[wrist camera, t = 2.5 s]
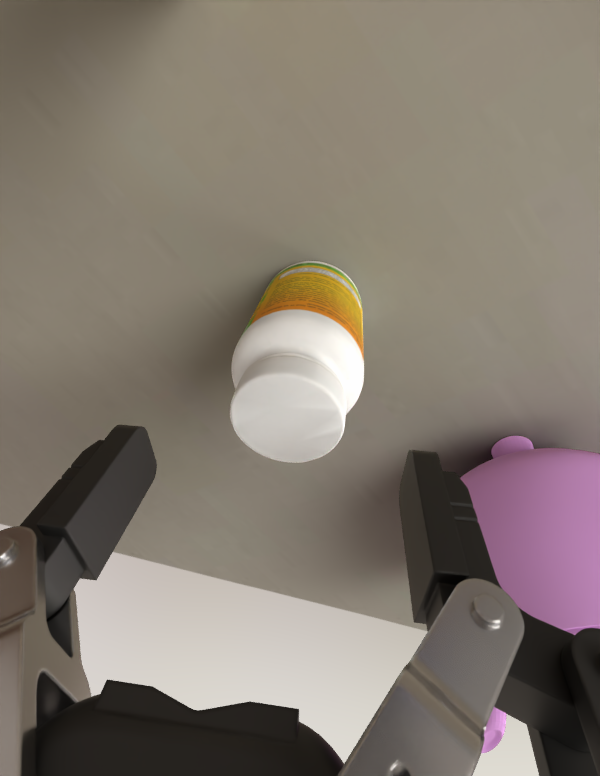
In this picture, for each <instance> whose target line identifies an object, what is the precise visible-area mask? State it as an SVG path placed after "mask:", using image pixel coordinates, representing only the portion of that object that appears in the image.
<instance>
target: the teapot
mask: <svg viewBox="0 0 600 776" xmlns="http://www.w3.org/2000/svg"><path fill="white" fill-rule="evenodd" d="M491 453H492V456H493V458H494V459H491V460H489V461H487V462H485V463H483V464H480V465H479V466H477V467H475V468H473V469H472V470H470V471H469V472H467V473H466V474H465V475H463V476H462V477H461V478H460V479H461V480H462V481H463V483H464V484H465V485H466V486H467V488H468V490H469V493H470V496H471V500H472V503H473V508H474V509H475V512H476V515H477V518H478V523H479V525H480V528H481V531H482V534H483V537H484V540H485V543H486V546H487V550H488V553H489V556H490V559H491V562H492V565H493V568H494V571H495V574H496V577H497V580H498V582H499V584H500V586H501V588H502V589H503V590H504V591H505V592H506V593H507V594H508V595H509V596H510V597H511V598H512V599H513V600H514V602H515V603H516V605H517V606H518V607H519V608H520V609H522V610H523V611H524V612H526V613H528V614H529V615H531V616H533V617H535V618H537V619H539V620H541V621H544V622H546V623H548V624H550V625H553V626H555V627H557V628H560V629H562V630H564V631H567V632H569V633H571V634H573V635H576V634H577V633H578V632H579V631H581V630H583V629H586V628H598V629H600V454H599V453H594V452H588V451H582V450H574V449H564V448H540V449H534V447H533V444H532V442H531V441H530V440H529V439H528V438H525V437H522V436H509V437H506V438H503V439H501V440H499V441H498V442H497V443H496V444H495V445H494V446H493V448H492V451H491ZM505 725H506V713H504V712H503V711H501V710H499V709H497V708H495V707H494V708H493V711H492V713H491V715H490V718H489V720H488V723H487V725H486V728H485V732H484V737H485V740H484V745H483V748H482V752H481V753H486V752H489V751H490V750H492V749H493V748H495V747H496V746H497V745H498V743H499V742H500V741H501V739H502V737H503V735H504V731H505Z"/></svg>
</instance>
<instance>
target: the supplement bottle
mask: <svg viewBox="0 0 600 776" xmlns="http://www.w3.org/2000/svg"><path fill="white" fill-rule="evenodd" d="M231 368H232V379H233V383H234V386H235V389H236V390H235V393H234V395H233V398H232V401H231V405H230V419H231V423H232V426H233V428H234V430H235V432H236V433H237V435H238V436H239V438H240V439H241V440H242V441H243V442H244V443H245V444H246V445H247V446H248V447H249V448H251V449H252V450H254V451H255V452H257V453H259V454H260V455H263V456H265V457H267V458H270V459H273V460H277V461H282V462H290V463H297V462H306V461H311V460H314V459H317V458H320V457H322V456H324V455H325V454H327V453H329V452H330V451H331V450H332V449H333V448H334V447H335V446H336V445H337V444H338V442H339V441H340V439H341V437H342V435H343V432H344V427H345V416H346V414H347V413H348V412H349V411H350V409H351V408H352V407H353V406H354V404H355V403H356V401H357V399H358V397H359V395H360V392H361V389H362V386H363V380H364V353H363V319H362V303H361V299H360V295H359V292H358V290H357V288H356V286H355V285H354V283H353V282H352V280H351V279H350V278H349V277H348V276H347V275H346V274H345V273H344V272H343V271H341V270H340V269H338V268H337V267H335V266H333V265H330V264H327V263H324V262H319V261H303V262H299V263H295V264H293V265H290V266H288V267H286V268H285V269H283V270H282V271H280V272H279V273H278V274H277V275H276V276H275V277H274V278H273V280H272V281H271V282H270V284H269V285H268V287H267V289H266V291H265V293H264V295H263V297H262V298H261V300H260V302H259V304H258V306H257V308H256V310H255V312H254V314H253V316H252V317H251V319H250V321H249V323H248V325H247V327H246V328H245V330H244V332H243V334H242V336H241V337H240V339H239V341H238V344H237V346H236V348H235V351H234V354H233V358H232V366H231Z"/></svg>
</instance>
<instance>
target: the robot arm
mask: <svg viewBox="0 0 600 776" xmlns="http://www.w3.org/2000/svg"><path fill="white" fill-rule="evenodd" d="M156 468H157V464H156V459H155V456H154V452H153V449H152V446H151V443H150V440H149V436H148V433H147V430H146V429H145V428H144V427H140V426H128V425H117V426H116V427H114V429H113V430H112V431H111V432H110V433H109V435H108V436H107V437H106V438H105V440H99V441H97V442H96V443H94V444H93V445H91V446H90V447H88V448H87V449H86V450H84V451H83V452H82V453H81V454H80V455H79V457H78V458H77V459H76V460H75V461H74V462H73V464H72V465H71V468H68V470H67V471H66V472H65V473H64V474H63V475H62V479H59V480H58V481H57V483H56V484H55V485H54V486H53V487H52V488H51V490H50V491H49V492H48V493H47V494H46V496H45V497H44V498H43V499H42V500H41V501H40V503H39V504H38V505H37V506H36V507H35V509H34V510H33V511H32V512H31V513H30V514H29V516H28V517H27V518H26V519H25V520H24V522H23V523H22V524H21V525H20V526H16V527H11V528H7V529H4V530H1V531H0V776H472V775H473V772H474V770H475V767H476V765H477V763H478V760H479V757H480V754H481V752H482V748H483V745H484V740H485V737H484V732H485V728H486V725H487V723H488V720H489V718H490V715H491V713H492V711H493V708H494V707H495V708H497V709H499V710H501V711H503V712H504V713H506V714H508V715H510V716H512V717H514V718H516V719H518V720H519V721H521V722H523V723H525V724H527V727H528V731H529V735H530V739H531V743H532V747H533V752H534V756H535V760H536V764H537V768H538V772H539V776H600V629H598V628H586V629H583V630H581V631H579V632H578V633H577V634H576V635H573V634H571V633H569V632H567V631H564V630H562V629H560V628H557V627H555V626H553V625H550V624H548V623H546V622H544V621H541V620H539V619H537V618H535V617H533V616H531V615H529V614H528V613H526V612H524V611H523V610H522V609H520V608H519V607H518V606H517V605H516V603H515V602H514V600H513V599H512V598H511V597H510V596H509V595H508V594H507V593H506V592H505V591H504V590H503V589H502V588H501V586H500V584H499V582H498V580H497V577H496V574H495V571H494V568H493V565H492V562H491V559H490V556H489V553H488V550H487V546H486V543H485V540H484V537H483V534H482V531H481V528H480V525H479V523H478V518H477V515H476V512H475V509H474V508H473V503H472V500H471V496H470V493H469V490H468V488H467V486H466V485H465V484H464V483H463V481H462V480H461V479H460V478H459V476H458V475H457V474H456V473H455V472H444V471H442V468H441V464H440V460H439V457H438V454H437V453H436V452H427V451H415V450H409V452H408V455H407V459H406V463H405V467H404V472H403V476H402V480H401V484H400V492H399V505H400V513H401V521H402V530H403V538H404V546H405V554H406V562H407V570H408V578H409V586H410V594H411V603H412V611H413V619H414V622H415V623H423V624H427V630H428V633H427V634H426V636H425V638H424V639H423V641H422V643H421V644H420V646H419V647H418V649H417V651H416V652H415V654H414V655H413V657H412V659H411V660H410V662H409V663H408V664H407V665H406V666H405V667H404V669H403V670H402V672H401V673H400V675H399V676H398V678H397V679H396V681H395V683H394V684H393V686H392V688H391V689H390V691H389V692H388V694H387V696H386V697H385V699H384V701H383V702H382V704H381V705H380V707H379V709H378V710H377V712H376V713H375V715H374V717H373V718H372V720H371V722H370V724H369V725H368V726H367V728H366V730H365V732H364V733H363V735H362V736H361V738H360V740H359V741H358V743H357V745H356V746H355V748H354V749H353V751H352V752H351V754H350V756H349V757H348V759H347V761H346V762H345V764H344V763H343V762H342V760H341V759H340V757H339V756H338V755H337V753H336V752H335V751H334V750H333V748H332V747H331V746H330V745H329V744H328V743H327V742H326V741H325V740H324V739H323V738H322V737H321V736H320V735H319V734H317V733H316V732H315V731H313V730H312V729H311V728H309V727H308V726H306V725H304V724H302V723H300V722H299V709H294V708H288V707H281V706H275V705H268V704H262V703H255V702H246V703H240V704H234V705H229V706H223V707H217V708H212V709H206V710H199V711H197V710H193V709H191V708H189V707H187V706H185V705H184V704H182V703H180V702H178V701H177V700H175V699H173V698H171V697H170V696H168V695H166V694H164V693H163V692H161V691H159V690H157V689H156V688H154V687H151V686H145V685H138V684H132V683H125V682H119V681H113V680H107V681H106V683H105V685H104V688H103V690H102V692H101V694H99V695H96V696H93V697H91V693H90V688H89V684H88V680H87V677H86V675H85V672H84V669H83V666H82V661H81V655H80V654H81V653H80V641H79V630H78V618H77V606H76V595H75V591H74V587H75V585H76V584H77V582H78V580H79V579H80V578H82V579H90V580H97V578H98V576H99V575H100V573H101V571H102V569H103V567H104V566H105V564H106V562H107V561H108V559H109V557H110V555H111V554H112V552H113V550H114V548H115V547H116V545H117V543H118V541H119V540H120V538H121V536H122V534H123V533H124V531H125V529H126V527H127V526H128V524H129V522H130V520H131V519H132V517H133V515H134V514H135V512H136V510H137V508H138V507H139V505H140V503H141V501H142V500H143V498H144V496H145V494H146V493H147V491H148V489H149V487H150V486H151V484H152V482H153V480H154V478H155V474H156Z"/></svg>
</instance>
